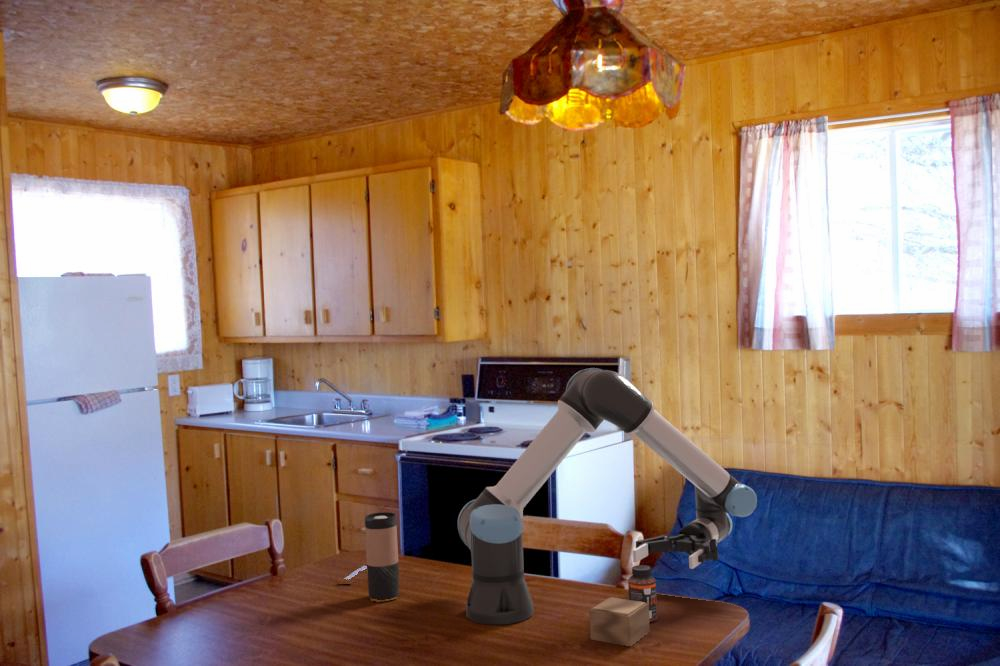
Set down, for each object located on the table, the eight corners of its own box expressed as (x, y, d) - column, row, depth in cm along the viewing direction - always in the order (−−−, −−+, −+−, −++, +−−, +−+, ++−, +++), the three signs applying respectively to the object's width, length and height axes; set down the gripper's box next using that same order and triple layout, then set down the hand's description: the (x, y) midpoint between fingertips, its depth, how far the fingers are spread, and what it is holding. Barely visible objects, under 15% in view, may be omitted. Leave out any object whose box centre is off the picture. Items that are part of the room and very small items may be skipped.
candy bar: (350, 588, 223) (350, 580, 223) (336, 587, 224) (335, 580, 224) (379, 569, 239) (378, 562, 239) (365, 568, 240) (365, 562, 240)
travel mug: (401, 592, 216) (397, 511, 216) (398, 601, 208) (394, 518, 208) (370, 593, 216) (366, 513, 215) (366, 603, 208) (362, 520, 208)
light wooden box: (590, 639, 178) (589, 608, 178) (610, 625, 186) (609, 595, 186) (630, 646, 173) (629, 615, 173) (649, 632, 181) (648, 602, 181)
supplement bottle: (657, 624, 185) (654, 571, 185) (628, 624, 186) (626, 571, 186) (657, 615, 191) (655, 563, 191) (630, 614, 192) (628, 563, 192)
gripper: (748, 557, 207) (716, 582, 190) (651, 547, 221) (613, 569, 204) (746, 526, 207) (714, 548, 189) (649, 517, 221) (611, 537, 204)
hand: (662, 559), depth 197 cm, fingers open, 13 cm apart
